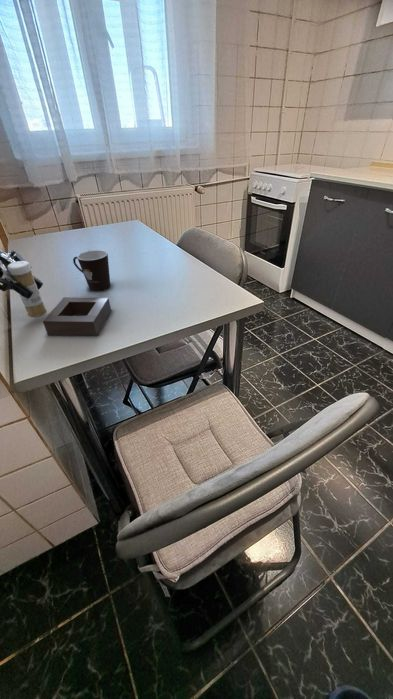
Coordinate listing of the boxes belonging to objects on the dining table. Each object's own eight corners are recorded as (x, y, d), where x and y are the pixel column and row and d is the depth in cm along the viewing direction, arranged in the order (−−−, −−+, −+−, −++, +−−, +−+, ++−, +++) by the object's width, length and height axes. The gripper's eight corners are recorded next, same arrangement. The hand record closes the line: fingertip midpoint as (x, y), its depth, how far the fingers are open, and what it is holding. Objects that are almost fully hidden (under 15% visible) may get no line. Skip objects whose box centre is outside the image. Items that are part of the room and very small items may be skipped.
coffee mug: (119, 287, 91) (112, 255, 85) (93, 295, 87) (84, 262, 81) (101, 276, 98) (95, 245, 92) (77, 283, 94) (68, 252, 88)
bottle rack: (97, 336, 70) (93, 321, 67) (48, 335, 70) (42, 321, 68) (111, 310, 79) (108, 297, 77) (68, 310, 80) (63, 297, 77)
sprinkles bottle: (43, 308, 79) (25, 258, 71) (49, 314, 76) (30, 263, 68) (25, 313, 76) (4, 263, 68) (30, 320, 74) (9, 269, 65)
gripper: (-54, 238, 58) (28, 294, 65) (-10, 220, 69) (56, 269, 76) (-64, 264, 62) (14, 315, 68) (-21, 243, 73) (43, 288, 80)
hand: (35, 290), depth 72 cm, fingers closed on sprinkles bottle, 4 cm apart
